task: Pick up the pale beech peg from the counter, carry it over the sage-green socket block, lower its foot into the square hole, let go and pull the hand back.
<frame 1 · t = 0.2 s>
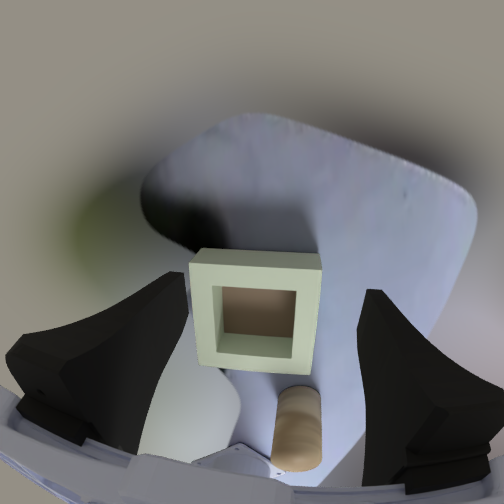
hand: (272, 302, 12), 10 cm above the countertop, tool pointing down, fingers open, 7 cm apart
socket: (258, 303, 24), on the countertop
peg: (299, 400, 27), on the countertop
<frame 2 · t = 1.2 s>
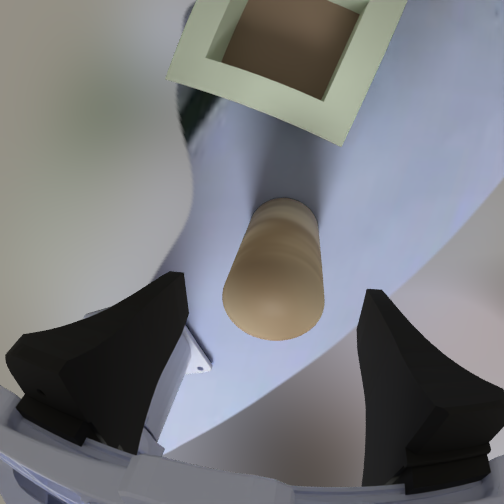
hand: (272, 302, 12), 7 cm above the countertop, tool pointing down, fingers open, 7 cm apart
socket: (290, 36, 13), on the countertop
peg: (283, 230, 18), on the countertop
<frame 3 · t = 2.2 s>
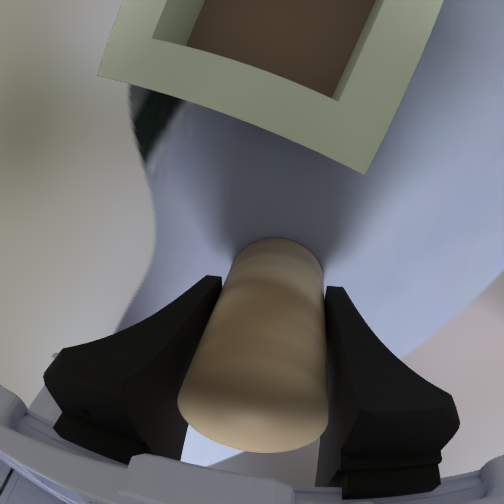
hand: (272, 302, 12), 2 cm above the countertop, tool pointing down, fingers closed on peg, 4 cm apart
socket: (285, 6, 9), on the countertop
peg: (276, 280, 14), on the countertop, touching gripper
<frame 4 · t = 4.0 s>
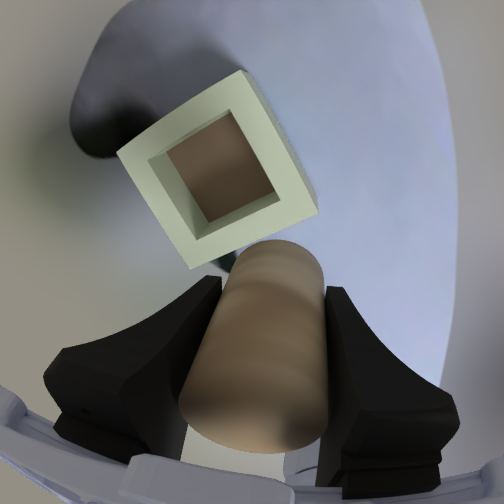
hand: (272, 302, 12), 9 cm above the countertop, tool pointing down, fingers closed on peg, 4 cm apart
socket: (224, 166, 19), on the countertop
peg: (277, 282, 14), point 7 cm above the countertop, touching gripper
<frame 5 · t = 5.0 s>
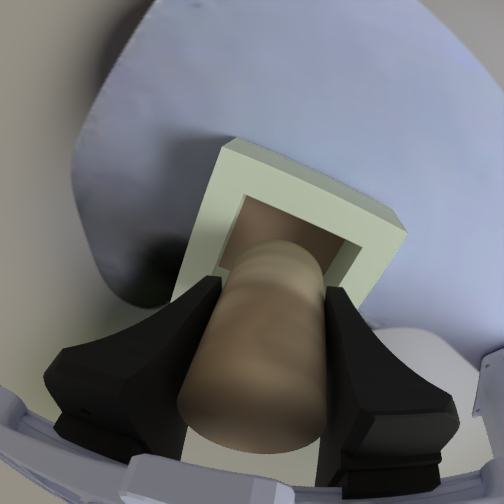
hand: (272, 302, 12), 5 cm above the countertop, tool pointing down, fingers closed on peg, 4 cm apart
socket: (283, 243, 17), on the countertop
peg: (276, 282, 14), point 4 cm above the countertop, touching gripper
when the fingers open (4 cm above the countertop, at t = 5.6 s): peg drops 2 cm, resting on socket.
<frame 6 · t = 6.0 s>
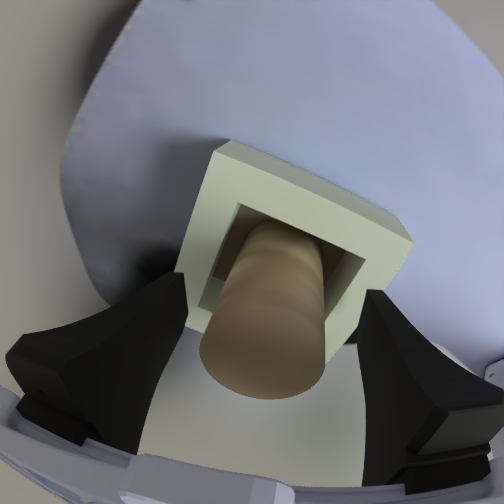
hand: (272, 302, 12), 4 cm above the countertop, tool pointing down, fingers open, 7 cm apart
socket: (281, 252, 16), on the countertop
peg: (280, 256, 16), resting on socket
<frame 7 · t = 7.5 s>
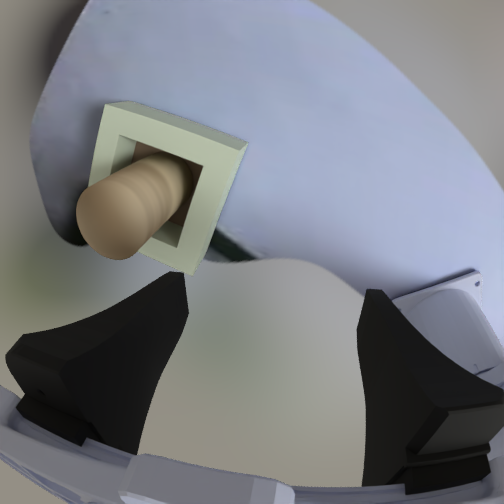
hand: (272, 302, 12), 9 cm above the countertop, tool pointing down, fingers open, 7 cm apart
socket: (166, 178, 20), on the countertop
peg: (164, 180, 20), resting on socket
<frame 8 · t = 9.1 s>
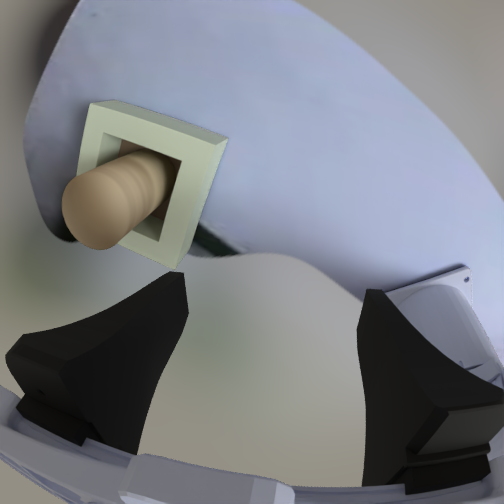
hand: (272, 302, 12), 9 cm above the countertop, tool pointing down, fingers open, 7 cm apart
socket: (151, 174, 21), on the countertop
peg: (148, 177, 20), resting on socket
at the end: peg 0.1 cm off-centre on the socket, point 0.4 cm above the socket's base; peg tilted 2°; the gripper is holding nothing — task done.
